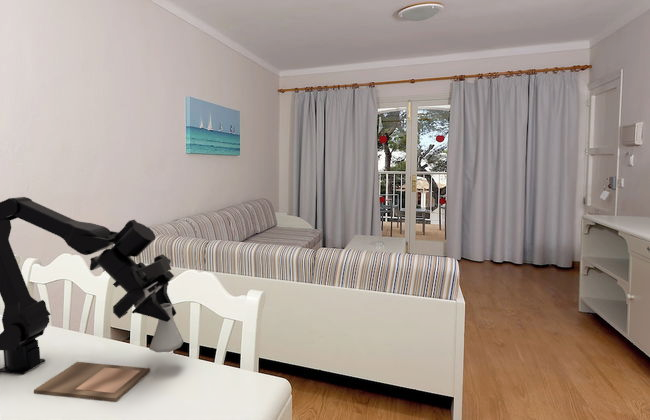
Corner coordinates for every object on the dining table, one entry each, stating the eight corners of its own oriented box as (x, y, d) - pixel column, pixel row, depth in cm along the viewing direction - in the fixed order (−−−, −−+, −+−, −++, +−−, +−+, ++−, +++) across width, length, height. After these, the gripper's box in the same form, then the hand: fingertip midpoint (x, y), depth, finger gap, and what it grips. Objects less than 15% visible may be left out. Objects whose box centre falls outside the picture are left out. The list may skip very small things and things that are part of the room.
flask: (171, 355, 87) (169, 312, 85) (143, 351, 88) (141, 309, 87) (189, 341, 94) (188, 301, 92) (162, 337, 95) (161, 298, 94)
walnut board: (34, 393, 82) (33, 389, 82) (77, 364, 94) (77, 361, 94) (116, 401, 79) (115, 397, 79) (150, 371, 91) (150, 367, 91)
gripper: (125, 255, 79) (179, 309, 80) (165, 238, 98) (209, 282, 99) (89, 291, 80) (143, 344, 81) (135, 268, 99) (179, 311, 100)
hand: (172, 317), depth 90 cm, fingers closed on flask, 3 cm apart
